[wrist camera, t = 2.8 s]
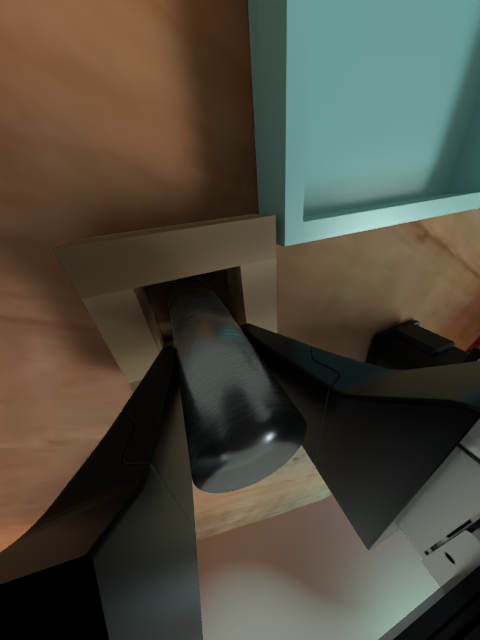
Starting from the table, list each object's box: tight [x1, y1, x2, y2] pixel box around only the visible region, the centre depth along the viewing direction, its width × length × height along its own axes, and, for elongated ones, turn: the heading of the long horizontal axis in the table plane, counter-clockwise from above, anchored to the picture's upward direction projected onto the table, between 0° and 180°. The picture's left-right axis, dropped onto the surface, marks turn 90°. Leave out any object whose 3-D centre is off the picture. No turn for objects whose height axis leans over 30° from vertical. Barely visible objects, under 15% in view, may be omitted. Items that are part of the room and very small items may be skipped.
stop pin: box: [168, 278, 307, 493], centre depth 9 cm, size 3×3×10 cm
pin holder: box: [53, 214, 277, 392], centre depth 12 cm, size 9×9×3 cm
